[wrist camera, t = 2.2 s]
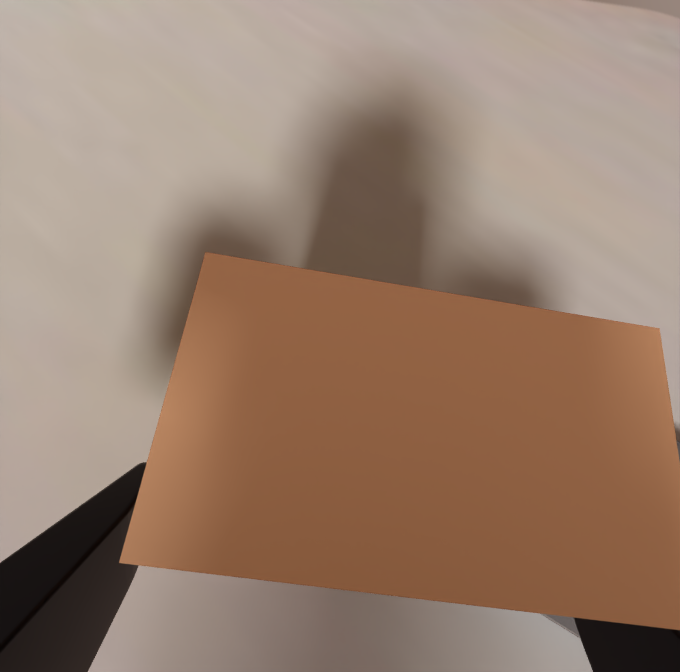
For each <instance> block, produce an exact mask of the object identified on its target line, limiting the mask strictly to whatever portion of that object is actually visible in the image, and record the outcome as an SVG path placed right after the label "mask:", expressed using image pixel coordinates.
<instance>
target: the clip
mask: <svg viewBox="0 0 680 672" xmlns="http://www.w3.org/2000/svg"><path fill="white" fill-rule="evenodd" d="M119 563H124V564H132V565H141V566H149V567H157V568H166V569H174V570H182V571H191V572H199V573H207V574H216V575H224V576H233V577H241V578H249V579H258V580H266V581H274V582H283V583H291V584H299V585H308V586H316V587H324V588H333V589H341V590H349V591H358V592H366V593H374V594H383V595H391V596H399V597H408V598H416V599H424V600H433V601H441V602H449V603H458V604H466V605H474V606H483V607H491V608H499V609H508V610H516V611H524V612H533V613H541V614H549V615H558V616H566V617H574V618H583V619H591V620H599V621H608V622H616V623H624V624H633V625H641V626H649V627H658V628H666V629H674V630H680V461H679V454H678V448H677V441H676V435H675V428H674V421H673V415H672V408H671V402H670V395H669V388H668V382H667V375H666V369H665V362H664V355H663V349H662V342H661V336H660V329H659V328H654V327H648V326H642V325H636V324H630V323H624V322H618V321H612V320H606V319H600V318H594V317H588V316H582V315H576V314H571V313H565V312H559V311H553V310H547V309H541V308H535V307H529V306H523V305H517V304H511V303H505V302H499V301H493V300H487V299H481V298H475V297H470V296H464V295H458V294H452V293H446V292H440V291H434V290H428V289H422V288H416V287H410V286H404V285H398V284H392V283H386V282H380V281H375V280H369V279H363V278H357V277H351V276H345V275H339V274H333V273H327V272H321V271H315V270H309V269H303V268H297V267H291V266H285V265H280V264H274V263H268V262H262V261H256V260H250V259H244V258H238V257H232V256H226V255H220V254H214V253H208V252H205V256H204V259H203V263H202V266H201V270H200V274H199V277H198V281H197V284H196V288H195V291H194V295H193V299H192V302H191V306H190V309H189V313H188V317H187V320H186V324H185V327H184V331H183V335H182V338H181V342H180V345H179V349H178V353H177V356H176V360H175V363H174V367H173V370H172V374H171V378H170V381H169V385H168V388H167V392H166V396H165V399H164V403H163V406H162V410H161V414H160V417H159V421H158V424H157V428H156V431H155V435H154V439H153V442H152V446H151V449H150V453H149V457H148V460H147V464H146V467H145V471H144V475H143V478H142V482H141V485H140V489H139V493H138V496H137V500H136V503H135V507H134V510H133V514H132V518H131V521H130V525H129V528H128V532H127V536H126V539H125V543H124V546H123V550H122V554H121V557H120V561H119Z"/></svg>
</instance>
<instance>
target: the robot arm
mask: <svg viewBox="0 0 680 672" xmlns="http://www.w3.org/2000/svg"><path fill="white" fill-rule="evenodd" d="M146 464H147V462H143V463H140V464H138V465H137V466H135V467H134V468H133V469H131V470H130V471H128V472H127V473H126V474H124V475H123V476H121V477H120V478H119V479H117V480H116V481H114V482H113V483H111V484H110V485H109V486H107V487H106V488H104V489H103V490H102V491H100V492H99V493H97V494H96V495H95V496H93V497H92V498H90V499H89V500H88V501H86V502H85V503H83V504H82V505H81V506H79V507H78V508H76V509H75V510H74V511H72V512H71V513H69V514H68V515H67V516H65V517H64V518H62V519H61V520H60V521H58V522H57V523H55V524H54V525H53V526H51V527H50V528H48V529H47V530H46V531H44V532H43V533H41V534H40V535H39V536H37V537H36V538H34V539H33V540H31V541H30V542H29V543H27V544H26V545H24V546H23V547H22V548H20V549H19V550H17V551H16V552H15V553H13V554H12V555H10V556H9V557H8V558H6V559H5V560H3V561H2V562H1V563H0V672H88V670H89V668H90V666H91V664H92V662H93V660H94V658H95V656H96V654H97V652H98V650H99V648H100V646H101V644H102V642H103V640H104V638H105V636H106V634H107V632H108V630H109V627H110V625H111V623H112V621H113V619H114V617H115V615H116V613H117V611H118V609H119V607H120V605H121V603H122V601H123V599H124V597H125V595H126V593H127V591H128V589H129V587H130V585H131V582H132V580H133V578H134V576H135V573H136V571H137V568H138V566H139V565H132V564H124V563H119V561H120V557H121V554H122V550H123V546H124V543H125V539H126V536H127V532H128V528H129V525H130V521H131V518H132V514H133V510H134V507H135V503H136V500H137V496H138V493H139V489H140V485H141V482H142V478H143V475H144V471H145V467H146ZM574 621H575V624H576V627H577V630H578V633H579V635H580V638H581V641H582V644H583V646H584V649H585V652H586V654H587V657H588V660H589V662H590V665H591V667H592V670H593V672H680V630H674V629H666V628H658V627H649V626H641V625H633V624H624V623H616V622H608V621H599V620H591V619H583V618H574Z"/></svg>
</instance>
